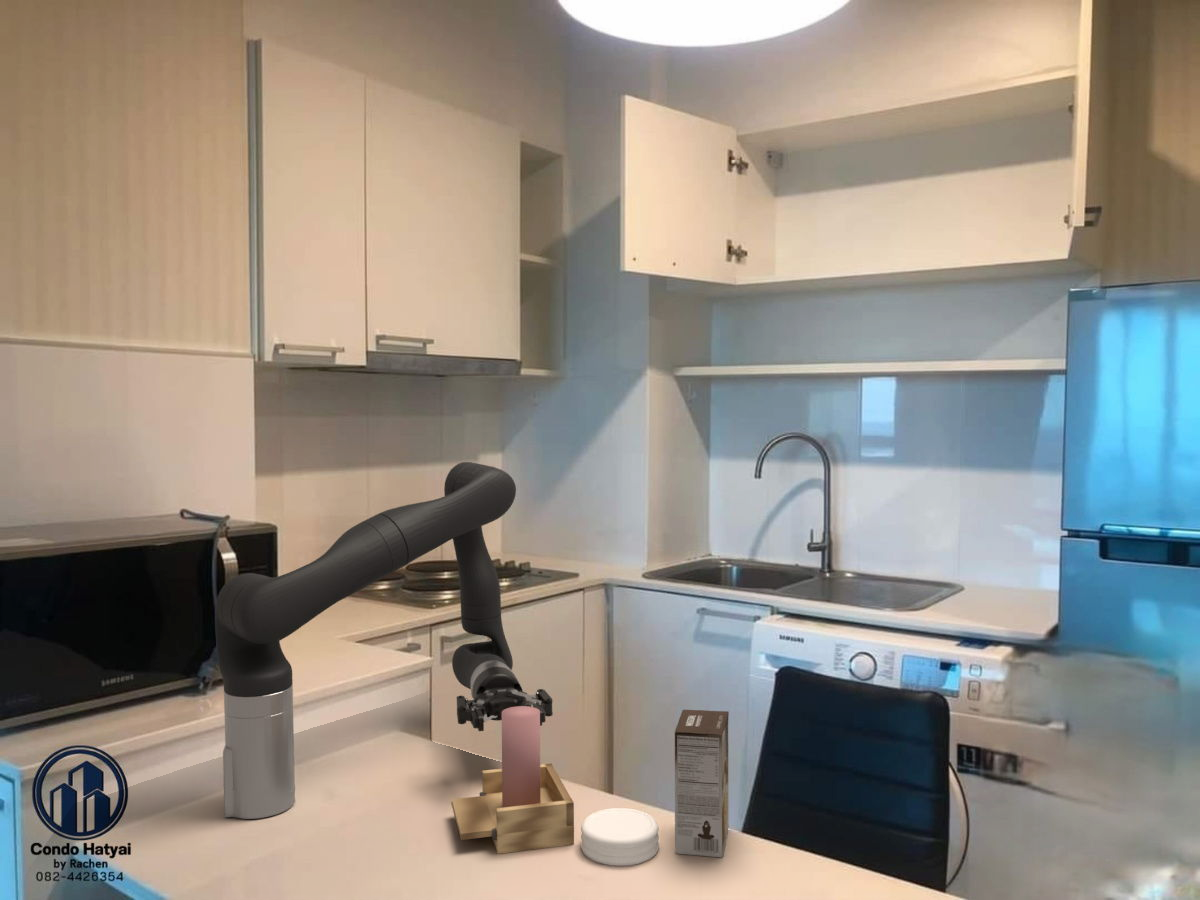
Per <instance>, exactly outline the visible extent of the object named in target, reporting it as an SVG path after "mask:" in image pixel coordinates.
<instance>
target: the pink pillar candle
mask: <svg viewBox="0 0 1200 900" xmlns="http://www.w3.org/2000/svg"><path fill="white" fill-rule="evenodd" d="M540 765H541V726H540V710H539V709H537V708H534V707H533V706H532V707H529V706H516V707H510V708H507V709H505V710H503V711H502V720H501V769H502V808H505V807H513V806H522V805H530V804H539V803H541V802H540Z"/></svg>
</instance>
